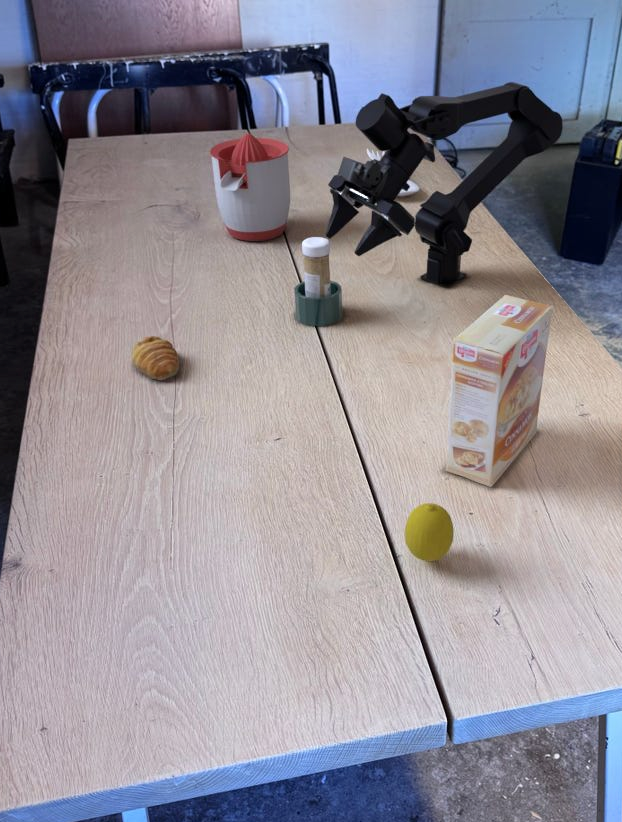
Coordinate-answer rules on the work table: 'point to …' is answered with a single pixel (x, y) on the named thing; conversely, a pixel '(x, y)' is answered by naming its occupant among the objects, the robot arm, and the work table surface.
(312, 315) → the cup
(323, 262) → the sprinkles bottle
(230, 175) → the citrus juicer
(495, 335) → the coffeecake box
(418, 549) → the lemon
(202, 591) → the work table surface
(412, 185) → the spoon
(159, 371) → the pastry
